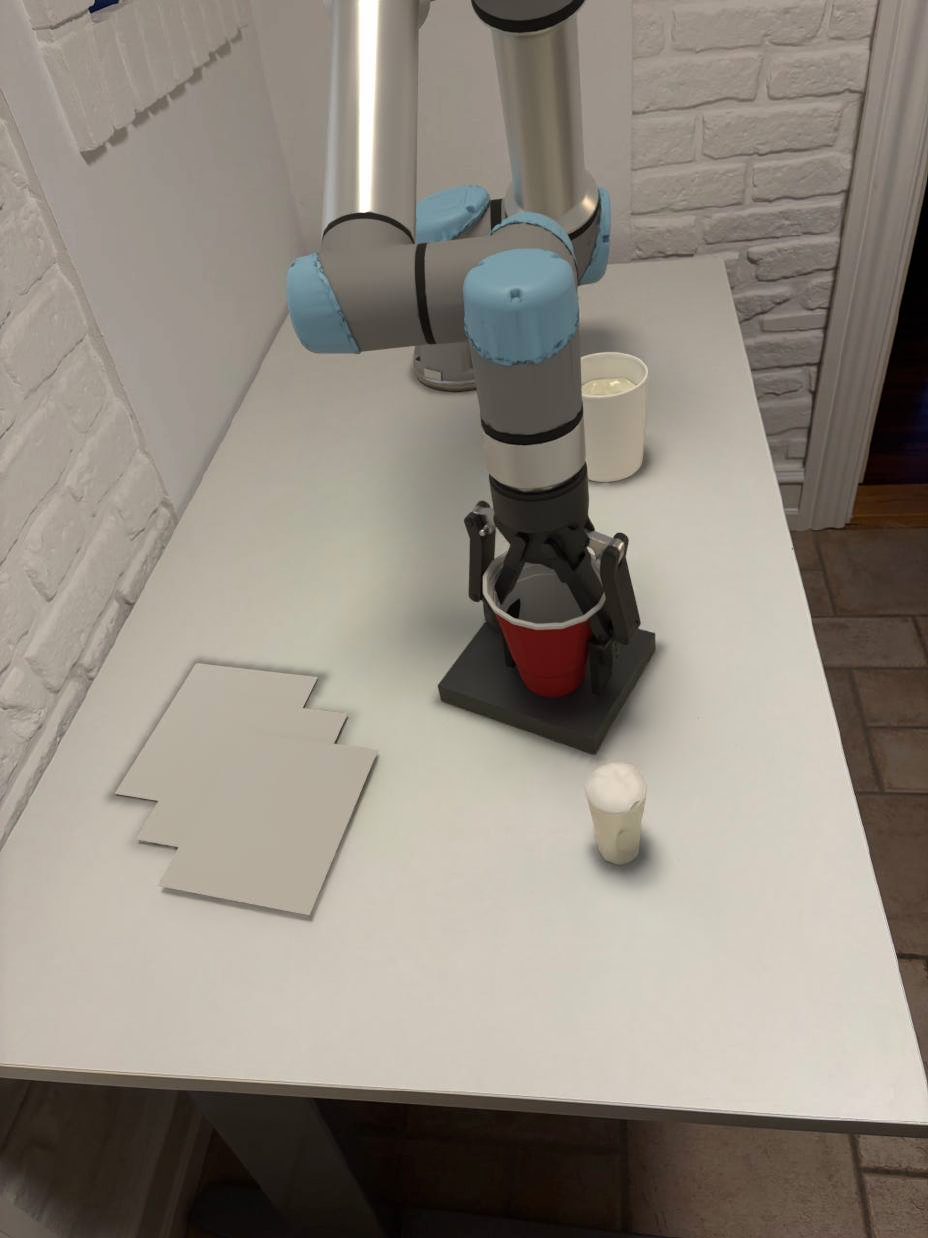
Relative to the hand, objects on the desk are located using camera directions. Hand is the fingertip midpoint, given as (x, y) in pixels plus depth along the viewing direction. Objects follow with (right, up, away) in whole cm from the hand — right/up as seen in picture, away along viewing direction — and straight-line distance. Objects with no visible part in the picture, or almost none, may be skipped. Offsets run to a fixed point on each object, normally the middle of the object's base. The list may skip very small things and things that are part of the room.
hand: (558, 670), depth 88 cm
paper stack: (-29, -10, 0) cm, 30 cm away
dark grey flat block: (-1, -1, +4) cm, 4 cm away
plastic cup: (0, -1, +1) cm, 1 cm away
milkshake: (+4, -14, -11) cm, 18 cm away
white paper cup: (+9, +24, +28) cm, 37 cm away
